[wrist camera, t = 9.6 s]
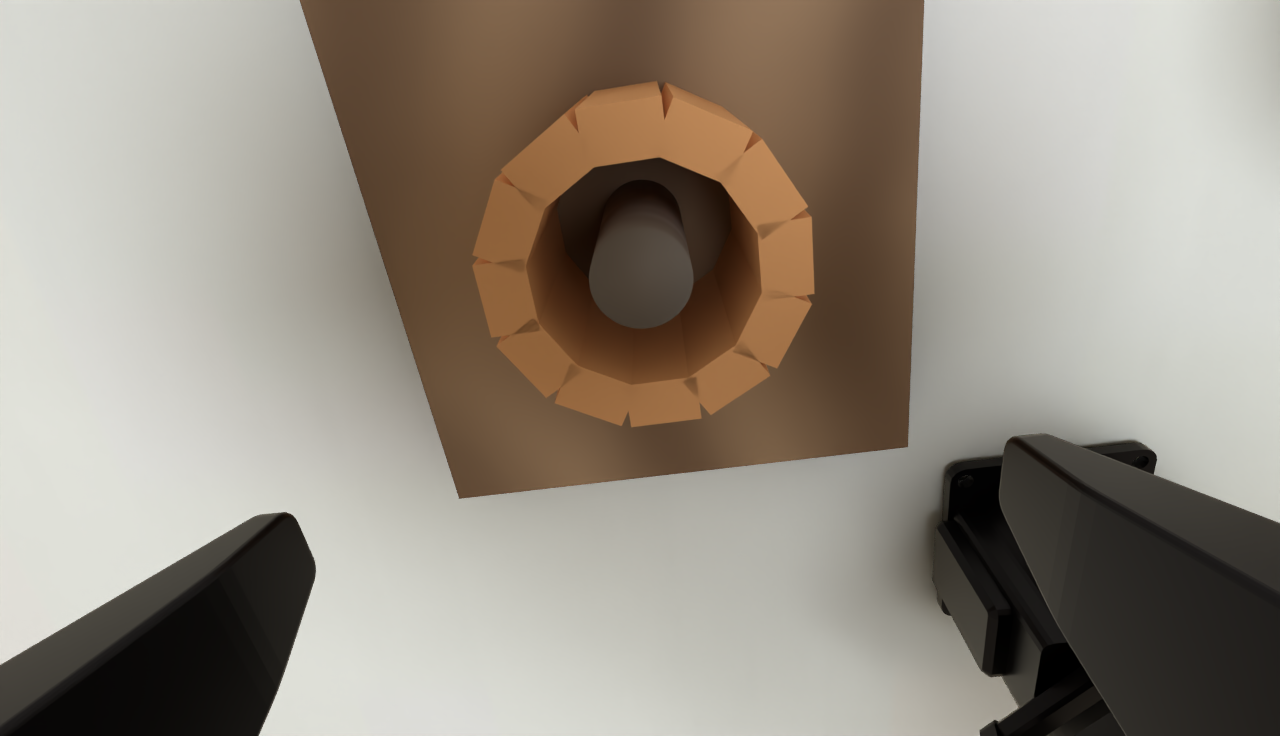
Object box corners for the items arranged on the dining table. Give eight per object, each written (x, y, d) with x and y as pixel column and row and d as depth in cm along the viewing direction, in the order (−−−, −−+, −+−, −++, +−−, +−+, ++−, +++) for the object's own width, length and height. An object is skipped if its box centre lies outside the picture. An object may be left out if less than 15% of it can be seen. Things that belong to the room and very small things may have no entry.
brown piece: (906, -200, 15) (1078, -362, 9) (891, 422, 22) (983, 562, 16) (299, -91, 16) (93, -172, 10) (470, 471, 23) (409, 621, 17)
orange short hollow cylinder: (760, 64, 16) (806, 72, 11) (775, 316, 18) (818, 403, 14) (494, 107, 16) (436, 131, 12) (548, 346, 19) (518, 441, 14)
